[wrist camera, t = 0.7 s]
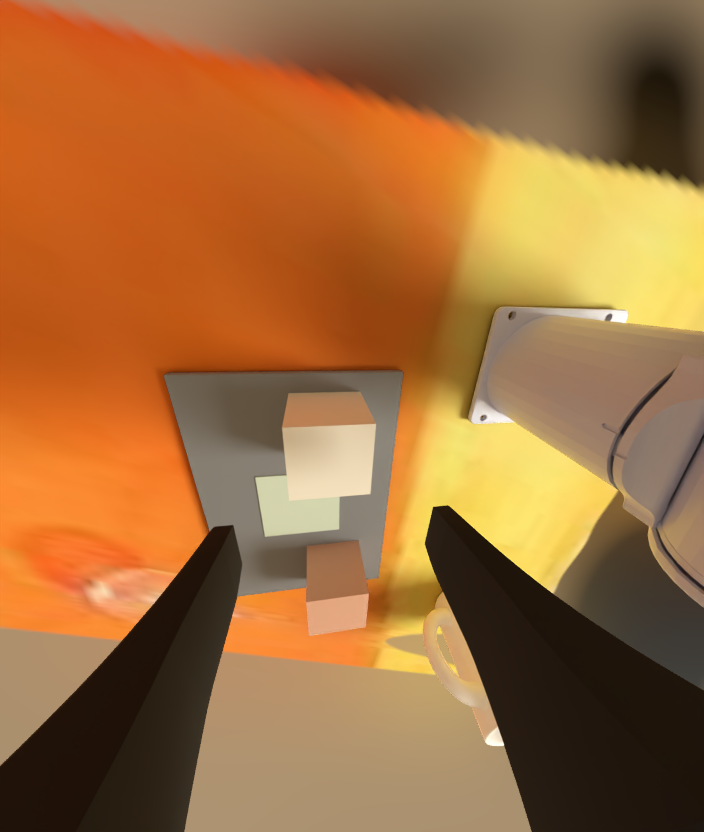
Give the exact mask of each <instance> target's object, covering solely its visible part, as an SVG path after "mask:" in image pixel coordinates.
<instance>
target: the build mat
mask: <svg viewBox="0 0 704 832" xmlns="http://www.w3.org/2000/svg"><path fill="white" fill-rule="evenodd" d="M164 378H165V382H166V385H167V389H168V392H169V395H170V399H171V402H172V405H173V409H174V412H175V416H176V419H177V422H178V426H179V429H180V433H181V436H182V439H183V443H184V446H185V450H186V453H187V456H188V460H189V463H190V467H191V470H192V473H193V477H194V480H195V484H196V487H197V490H198V494H199V497H200V500H201V504H202V507H203V511H204V514H205V517H206V521H207V524H208V528H209V531H211V529H212V528H213V527H216V526H227V525H233V526H234V530H235V534H236V539H237V543H238V547H239V551H240V556H241V560H242V570H241V577H240V583H239V589H238V594H237V596H245V595H252V594H260V593H268V592H275V591H283V590H291V589H298V588H306V587H307V546H312V545H321V544H330V543H339V542H349V541H358V540H359V545H360V550H361V555H362V561H363V566H364V571H365V576H366V580H367V579H375V578H379V569H380V561H381V553H382V544H383V536H384V528H385V520H386V511H387V503H388V495H389V487H390V478H391V470H392V462H393V453H394V445H395V437H396V429H397V420H398V412H399V404H400V396H401V387H402V379H403V371H402V370H347V371H260V372H172V373H166V374H165V375H164ZM359 391H360V392H361V394H362V396H363V398H364V400H365V402H366V404H367V406H368V408H369V411H370V413H371V415H372V417H373V419H374V421H375V423H376V431H375V444H374V456H373V468H372V481H371V493H370V494H366V495H354V496H342V497H330V498H318V499H305V500H293V501H289V494H288V484H287V474H286V464H285V453H284V443H283V433H282V425H283V420H284V415H285V409H286V404H287V399H288V394H289V393H316V392H359Z"/></svg>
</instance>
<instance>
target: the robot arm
mask: <svg viewBox="0 0 704 832" xmlns="http://www.w3.org/2000/svg"><path fill="white" fill-rule="evenodd" d="M510 312H512V316H511V318H508V315H509V313H510ZM605 317H606V318H605ZM627 318H628V312H627V311H626V310H618V309H582V308H545V307H508V306H503V307H500V308H498V309H497V310H496V311H495V314H494V317H493V320H492V324H491V328H490V332H489V336H488V340H487V344H486V348H485V352H484V356H483V360H482V364H481V368H480V372H479V376H478V380H477V384H476V388H475V392H474V396H473V400H472V404H471V408H470V412H469V416H468V419H469V421H470V422H471V423H473V424H486V423H508V422H515V423H517V424H518V425H520V426H521V427H523V428H524V429H526V430H527V431H529V432H530V433H532V434H534V435H535V436H537V437H538V438H540V439H541V440H543V441H544V442H546V443H547V444H549V445H550V446H552V447H553V448H555V449H556V450H558V451H559V452H561V453H563V454H564V455H566V456H567V457H569V458H570V459H572V460H573V461H575V462H576V463H578V464H579V465H581V466H582V467H584V468H585V469H587V470H589V471H590V472H592V473H593V474H595V475H596V476H598V477H599V478H601V479H602V480H604V481H605V482H607V483H608V484H610V485H611V486H613V487H614V488H616V489H618V490H619V491H621V492H622V494H623V495H624V504H623V508H624V509H625V510H627V511H628V512H629V513H631V514H632V515H634V516H635V517H637V518H638V519H639V520H641V521H642V522H644V523H645V524H646V525H648V526H649V531H648V538H649V545H650V547H651V550H652V552H653V554H654V556H655V558H656V559H657V561H658V562H659V564H660V565H661V567H662V568H663V570H664V571H665V572H666V573H667V574H668V575H669V576H670V578H671V579H672V580H673V581H674V582H675V583H676V584H677V585H678V586H679V587H680V588H681V589H682V590H683V591H684V592H685V593H687V594H688V595H689V596H690V597H691V598H692V599H694V600H695V601H696V602H697V603H699V604H700V605H701V606H702V607H704V332H701V331H692V330H683V329H674V328H665V327H657V326H648V325H639V324H630V323H625V322H626V320H627ZM482 415H484V416H483V417H482V418H481V419H480V417H481V416H482ZM425 546H426V549H427V552H428V555H429V558H430V561H431V564H432V567H433V570H434V573H435V575H436V577H437V580H438V582H439V584H440V586H441V588H442V591H443V593H444V595H445V597H446V599H447V602H448V604H449V606H450V608H451V610H452V612H453V615H454V617H455V619H456V621H457V623H458V625H459V628H460V630H461V632H462V634H463V636H464V638H465V641H466V643H467V645H468V648H469V650H470V652H471V655H472V657H473V660H474V662H475V665H476V668H477V670H478V673H479V676H480V679H481V681H482V684H483V687H484V689H485V692H486V695H487V697H488V700H489V703H490V706H491V709H492V712H493V715H494V717H495V720H496V723H497V726H498V729H499V732H500V734H501V737H502V740H503V743H504V746H505V749H506V752H507V755H508V758H509V761H510V764H511V767H512V770H513V773H514V776H515V779H516V782H517V786H518V788H519V792H520V795H521V797H522V801H523V804H524V808H525V811H526V814H527V818H528V821H529V824H530V827H531V830H532V832H704V690H702V689H700V688H698V687H697V686H695V685H693V684H692V683H690V682H688V681H686V680H685V679H683V678H681V677H680V676H678V675H676V674H674V673H673V672H671V671H670V670H668V669H666V668H664V667H663V666H661V665H660V664H658V663H656V662H654V661H653V660H651V659H650V658H648V657H646V656H645V655H643V654H641V653H640V652H638V651H637V650H635V649H633V648H632V647H630V646H629V645H627V644H625V643H624V642H623V641H621V640H619V639H618V638H616V637H615V636H613V635H612V634H610V633H609V632H607V631H606V630H604V629H603V628H601V627H600V626H598V625H596V624H595V623H594V622H592V621H590V620H589V619H588V618H586V617H585V616H583V615H582V614H580V613H579V612H577V611H576V610H575V609H573V608H572V607H571V606H569V605H568V604H566V603H565V602H564V601H562V600H561V599H559V598H558V597H557V596H555V595H554V594H552V593H551V592H550V591H548V590H547V589H546V588H545V587H543V586H542V585H541V584H539V583H538V582H537V581H535V580H534V579H533V578H532V577H530V576H529V575H528V574H527V573H525V572H524V571H523V570H522V569H520V568H519V567H518V566H517V565H515V564H514V563H513V562H512V561H511V560H509V559H508V558H507V557H506V556H505V555H503V554H502V553H501V552H500V551H499V550H498V549H496V548H495V547H494V546H493V545H492V544H491V543H490V542H488V541H487V540H486V539H485V538H484V537H483V536H482V535H481V534H479V533H478V532H477V531H476V530H475V529H474V528H473V527H472V526H471V525H469V524H468V523H467V522H466V521H465V520H464V519H463V518H462V517H461V516H460V515H458V514H457V513H456V512H455V511H454V510H453V509H452V508H451V507H449V506H438V507H433V510H432V515H431V519H430V523H429V528H428V532H427V537H426V541H425ZM241 570H242V560H241V556H240V551H239V547H238V543H237V539H236V534H235V530H234V526H233V525H227V526H216V527H213V528H212V529H211V531H210V532H209V533H208V535H207V536H206V537H205V539H204V540H203V542H202V543H201V544H200V546H199V547H198V548H197V550H196V551H195V552H194V554H193V555H192V556H191V558H190V559H189V560H188V561H187V563H186V564H185V565H184V567H183V568H182V569H181V571H180V572H179V573H178V574H177V576H176V577H175V578H174V579H173V581H172V582H171V583H170V584H169V586H168V587H167V588H166V589H165V591H164V592H163V593H162V594H161V596H160V597H159V598H158V599H157V601H156V602H155V603H154V604H153V605H152V607H151V608H150V609H149V610H148V611H147V612H146V614H145V615H144V616H143V617H142V618H141V619H140V621H139V622H138V623H137V624H136V625H135V626H134V628H133V629H132V630H131V631H130V632H129V633H128V635H127V636H126V637H125V638H124V639H123V640H122V641H121V642H120V644H119V645H118V646H117V647H116V648H115V649H114V650H113V652H111V654H110V655H109V656H108V657H107V658H106V659H105V660H104V661H103V663H102V664H100V666H99V667H98V668H97V669H96V670H95V671H94V672H93V673H92V674H91V675H90V676H89V677H88V678H87V680H86V681H85V682H84V683H83V684H82V685H81V686H80V687H79V688H78V689H77V690H76V691H75V692H74V693H73V694H72V695H71V696H70V697H69V698H68V699H67V700H66V701H65V702H64V703H63V704H62V705H61V706H60V707H59V708H58V709H57V710H56V711H55V712H54V713H53V714H52V715H51V716H50V717H49V718H48V719H47V720H46V721H45V722H44V723H43V724H42V725H41V726H40V728H38V730H36V731H35V732H34V733H33V734H32V735H31V736H30V737H29V738H28V739H27V740H26V741H25V742H24V743H23V744H22V745H21V746H20V747H19V749H17V750H16V751H15V752H14V753H13V754H12V755H11V756H10V757H9V758H8V759H7V760H6V761H5V762H4V763H3V764H2V765H1V766H0V832H184V830H185V824H186V818H187V813H188V807H189V802H190V796H191V791H192V785H193V781H194V775H195V770H196V765H197V759H198V754H199V749H200V744H201V739H202V734H203V729H204V724H205V719H206V714H207V708H208V704H209V700H210V696H211V692H212V688H213V683H214V680H215V676H216V673H217V669H218V666H219V662H220V658H221V654H222V651H223V647H224V644H225V640H226V636H227V633H228V629H229V625H230V622H231V618H232V614H233V611H234V607H235V603H236V599H237V594H238V589H239V583H240V577H241Z"/></svg>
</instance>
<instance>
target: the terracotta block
mask: <svg viewBox="0 0 704 832" xmlns="http://www.w3.org/2000/svg"><path fill="white" fill-rule="evenodd" d="M368 599H369V591H368V586H367V581H366V576H365V571H364V566H363V561H362V555H361V550H360V545H359V540H358V541H349V542H339V543H330V544H321V545H312V546H307V593H306V603H307V616H308V629H309V636H312V635H319V634H325V633H331V632H338V631H344V630H350V629H357V628H363V627H366V619H367V609H368Z"/></svg>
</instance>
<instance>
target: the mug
mask: <svg viewBox="0 0 704 832" xmlns="http://www.w3.org/2000/svg"><path fill="white" fill-rule="evenodd" d="M438 626H440V628H441V631H442V633H443V636H444V638H445V641H446V643H447V646H448V649H449V651H450V654H451V656H452V658H453V661H454V664H455V667H456V669H457V672H458V674H459V676H457V675H456V674H455V673H454V672H453V671H452V669H451V668H450V667H449V665H448V664H447V662H446V661H445V659H444V657H443V655H442V653H441V650H440V648H439V645H438V641H437V628H438ZM423 639H424V645H425V649H426V653H427V656H428V659H429V661H430V664H431V666H432V668H433V670H434V672H435V673H436V675H437V677H438V679H439V680H440V681H441V683H442V684H443V686H444V687H445V688H446V689H447V690H448V691H449V692H450V693H451V694H452V695H453V696H454V697H455V698H456V699H458V700H459V701H461V702H462V703H464V704H466V705H468V706H470V707H471V708H472V711H473V713H474V716H475V718H476V721H477V724H478V726H479V729H480V731H481V734H482V736H483V739H484V741H485V743H486V744H488V745H491V746H504V743H503V740H502V737H501V734H500V732H499V729H498V726H497V723H496V720H495V717H494V715H493V712H492V709H491V706H490V703H489V700H488V697H487V695H486V692H485V689H484V687H483V684H482V681H481V679H480V676H479V673H478V670H477V668H476V665H475V662H474V660H473V657H472V655H471V652H470V650H469V648H468V645H467V643H466V641H465V638H464V636H463V634H462V632H461V630H460V628H459V625H458V623H457V621H456V619H455V617H454V615H453V612H452V610H451V608H450V606H449V604H448V602H447V599H446V597H445V595H444V593H443V592H442V593H441V594H440V595H439V597H438V598H437V601H436V604H435V610H432V611H431V612H430V613H429V614H428V615H427V616H426V618H425V621H424V624H423Z"/></svg>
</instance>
